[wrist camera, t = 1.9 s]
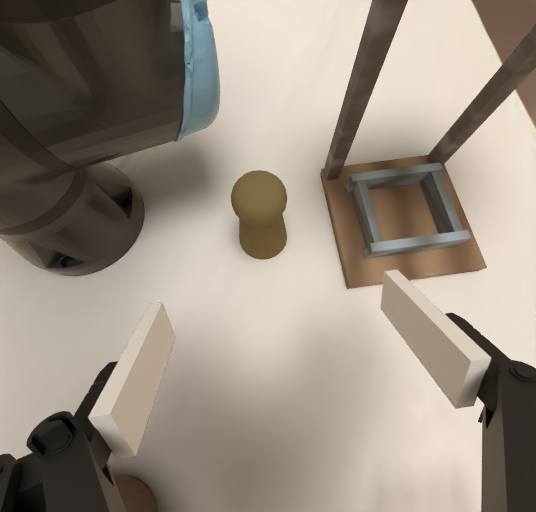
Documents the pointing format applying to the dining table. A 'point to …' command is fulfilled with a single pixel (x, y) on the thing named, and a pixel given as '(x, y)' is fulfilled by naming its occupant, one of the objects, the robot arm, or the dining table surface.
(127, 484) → the plant pot
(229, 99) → the dining table surface
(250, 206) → the cork
